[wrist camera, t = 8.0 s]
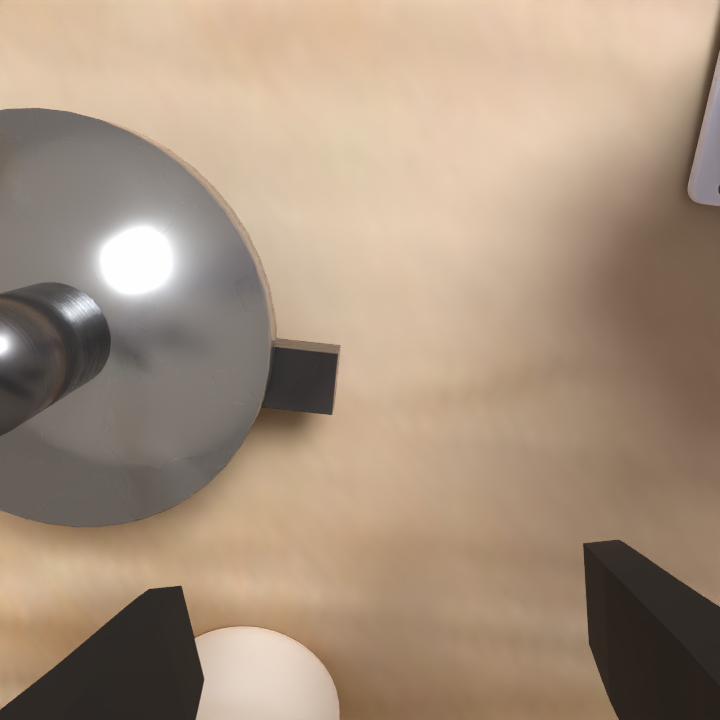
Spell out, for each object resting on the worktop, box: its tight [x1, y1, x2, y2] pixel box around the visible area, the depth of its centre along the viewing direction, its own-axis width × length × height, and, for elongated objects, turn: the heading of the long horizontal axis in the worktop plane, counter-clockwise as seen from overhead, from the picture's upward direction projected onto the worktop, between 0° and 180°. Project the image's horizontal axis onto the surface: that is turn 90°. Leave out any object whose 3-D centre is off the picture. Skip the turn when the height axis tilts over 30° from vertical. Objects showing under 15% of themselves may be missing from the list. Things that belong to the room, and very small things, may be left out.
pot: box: [262, 308, 340, 415], centre depth 19 cm, size 14×10×4 cm
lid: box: [0, 108, 276, 527], centre depth 15 cm, size 11×11×5 cm
